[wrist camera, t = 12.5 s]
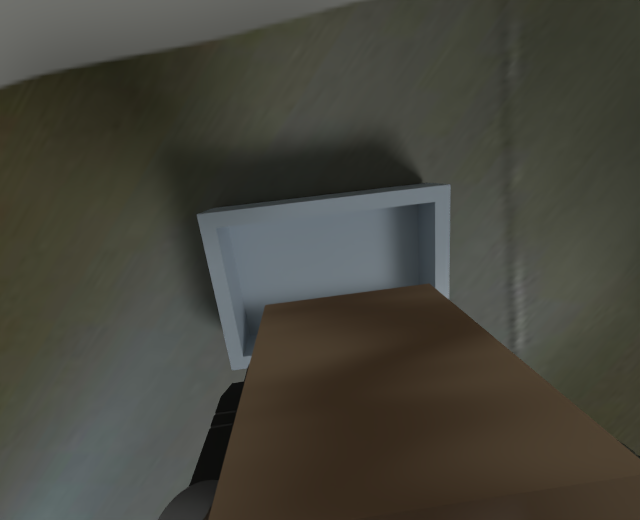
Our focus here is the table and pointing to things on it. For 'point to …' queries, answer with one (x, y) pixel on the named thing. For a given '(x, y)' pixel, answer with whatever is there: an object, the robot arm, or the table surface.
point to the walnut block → (409, 423)
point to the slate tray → (322, 251)
